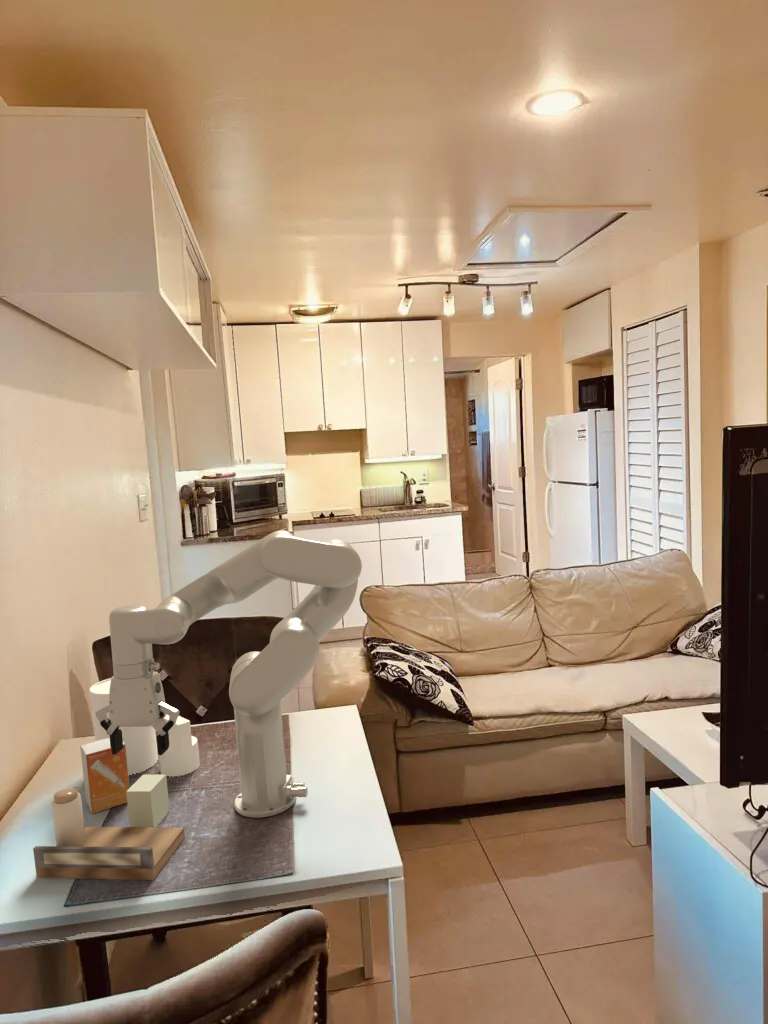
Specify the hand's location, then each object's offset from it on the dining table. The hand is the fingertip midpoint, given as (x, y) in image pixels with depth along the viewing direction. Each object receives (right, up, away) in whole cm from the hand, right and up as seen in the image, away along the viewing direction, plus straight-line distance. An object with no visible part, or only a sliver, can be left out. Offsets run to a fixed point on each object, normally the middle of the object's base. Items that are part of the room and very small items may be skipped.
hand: (140, 751), depth 137 cm
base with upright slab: (+1, -13, +25) cm, 28 cm away
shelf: (-1, -16, -11) cm, 19 cm away
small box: (-10, -15, +10) cm, 21 cm away
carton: (+2, -14, +1) cm, 15 cm away
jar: (-10, -14, -9) cm, 19 cm away
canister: (-13, -13, +29) cm, 34 cm away
